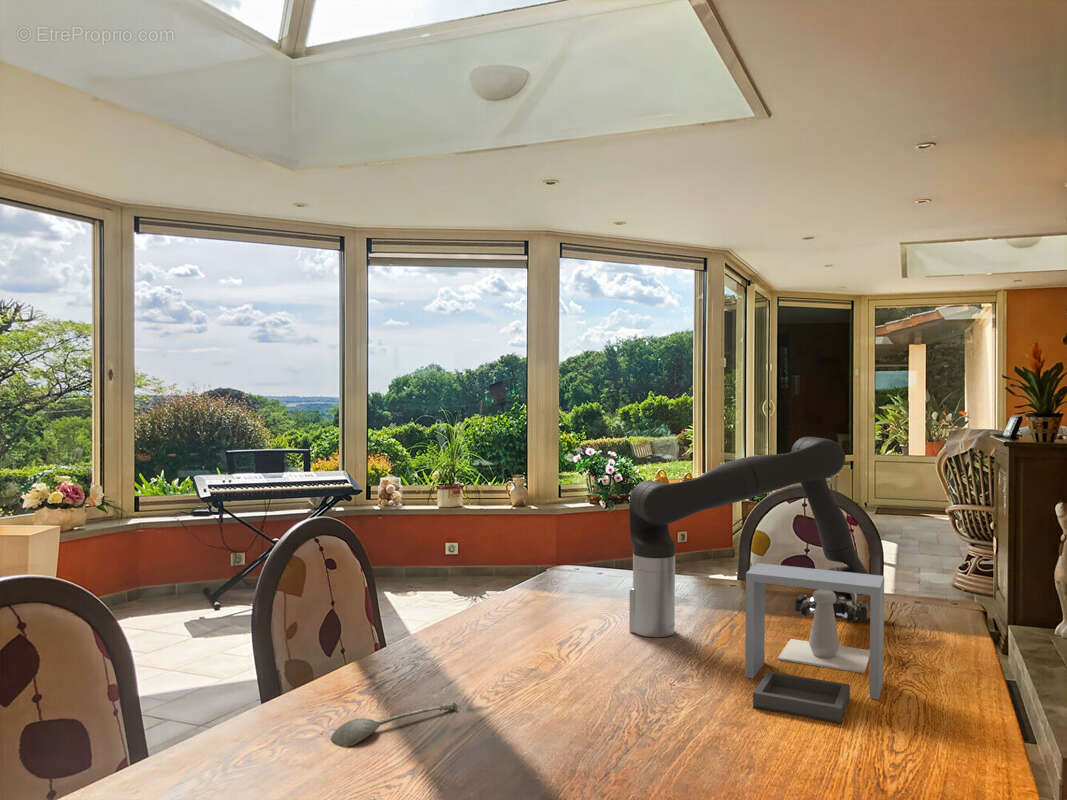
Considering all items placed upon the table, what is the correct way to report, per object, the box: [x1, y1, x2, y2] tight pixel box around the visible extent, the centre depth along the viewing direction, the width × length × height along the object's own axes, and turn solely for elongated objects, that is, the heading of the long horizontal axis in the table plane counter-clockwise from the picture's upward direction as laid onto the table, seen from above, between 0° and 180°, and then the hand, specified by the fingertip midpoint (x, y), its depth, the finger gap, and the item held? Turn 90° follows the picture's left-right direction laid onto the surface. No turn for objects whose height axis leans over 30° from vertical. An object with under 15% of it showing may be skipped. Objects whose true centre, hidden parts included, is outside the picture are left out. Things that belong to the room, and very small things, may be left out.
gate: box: [744, 562, 885, 700], centre depth 149 cm, size 23×10×20 cm, turn 62°
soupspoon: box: [330, 701, 459, 748], centre depth 128 cm, size 22×3×7 cm
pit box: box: [752, 671, 851, 725], centre depth 138 cm, size 14×12×2 cm
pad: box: [777, 638, 870, 674], centre depth 162 cm, size 16×14×1 cm
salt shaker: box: [808, 589, 841, 658], centre depth 162 cm, size 6×6×13 cm
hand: (826, 614), depth 163 cm, fingers open, 8 cm apart
